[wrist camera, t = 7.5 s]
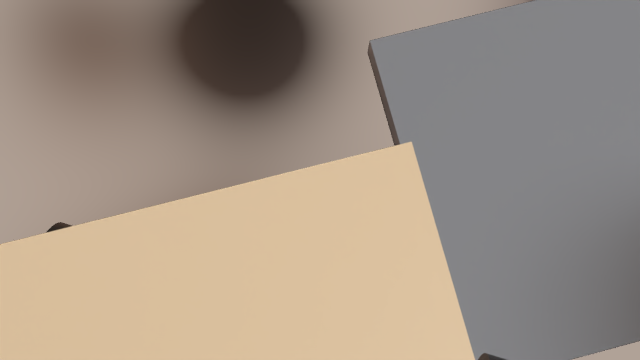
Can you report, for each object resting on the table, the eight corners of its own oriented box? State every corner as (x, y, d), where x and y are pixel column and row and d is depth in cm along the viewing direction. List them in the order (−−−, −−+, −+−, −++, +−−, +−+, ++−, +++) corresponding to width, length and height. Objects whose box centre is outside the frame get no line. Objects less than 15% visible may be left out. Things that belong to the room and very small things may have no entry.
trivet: (367, 52, 24) (369, 40, 23) (673, -23, 25) (690, -38, 24) (462, 381, 22) (470, 386, 21) (800, 289, 22) (826, 290, 21)
